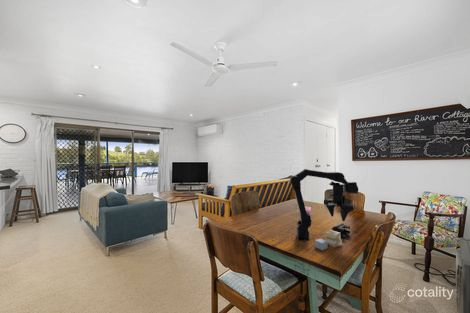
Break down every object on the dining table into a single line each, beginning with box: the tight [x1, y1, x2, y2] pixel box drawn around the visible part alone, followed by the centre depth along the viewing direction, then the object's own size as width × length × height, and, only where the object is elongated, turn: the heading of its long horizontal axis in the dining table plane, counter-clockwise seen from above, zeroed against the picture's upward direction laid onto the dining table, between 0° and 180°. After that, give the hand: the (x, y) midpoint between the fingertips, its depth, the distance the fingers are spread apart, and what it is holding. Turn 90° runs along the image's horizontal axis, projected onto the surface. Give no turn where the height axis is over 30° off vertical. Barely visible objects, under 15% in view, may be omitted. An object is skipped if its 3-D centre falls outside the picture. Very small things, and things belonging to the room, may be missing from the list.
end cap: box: [331, 222, 351, 240], centre depth 128 cm, size 10×7×7 cm
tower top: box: [325, 229, 342, 241], centre depth 115 cm, size 6×6×4 cm
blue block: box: [314, 238, 328, 251], centre depth 111 cm, size 4×4×4 cm
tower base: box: [325, 236, 343, 248], centre depth 116 cm, size 6×6×4 cm
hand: (337, 218), depth 120 cm, fingers open, 9 cm apart
